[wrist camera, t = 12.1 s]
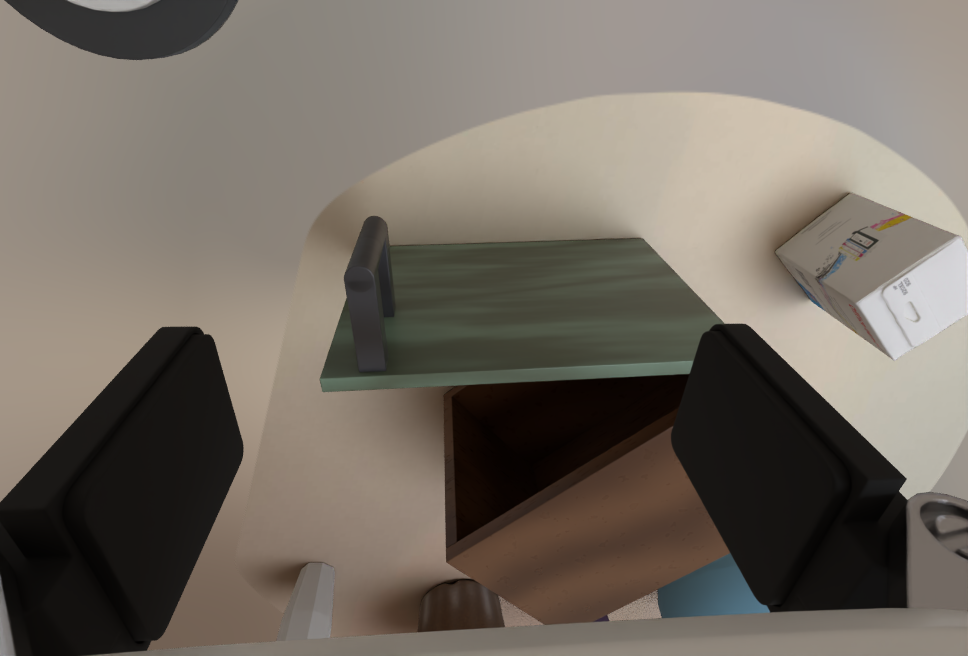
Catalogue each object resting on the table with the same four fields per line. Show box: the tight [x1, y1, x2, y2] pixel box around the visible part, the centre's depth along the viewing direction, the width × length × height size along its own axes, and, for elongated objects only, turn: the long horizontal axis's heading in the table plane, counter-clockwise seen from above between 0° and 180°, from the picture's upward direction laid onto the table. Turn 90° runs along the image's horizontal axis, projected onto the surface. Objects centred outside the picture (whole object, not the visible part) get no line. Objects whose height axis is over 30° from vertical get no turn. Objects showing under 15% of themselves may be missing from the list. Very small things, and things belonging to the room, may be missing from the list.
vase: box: [658, 553, 770, 618], centre depth 65 cm, size 16×16×25 cm
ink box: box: [775, 193, 968, 361], centre depth 45 cm, size 9×8×12 cm
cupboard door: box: [320, 216, 724, 392], centre depth 37 cm, size 8×26×20 cm, turn 90°
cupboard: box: [444, 374, 730, 625], centre depth 47 cm, size 16×26×20 cm, turn 130°
